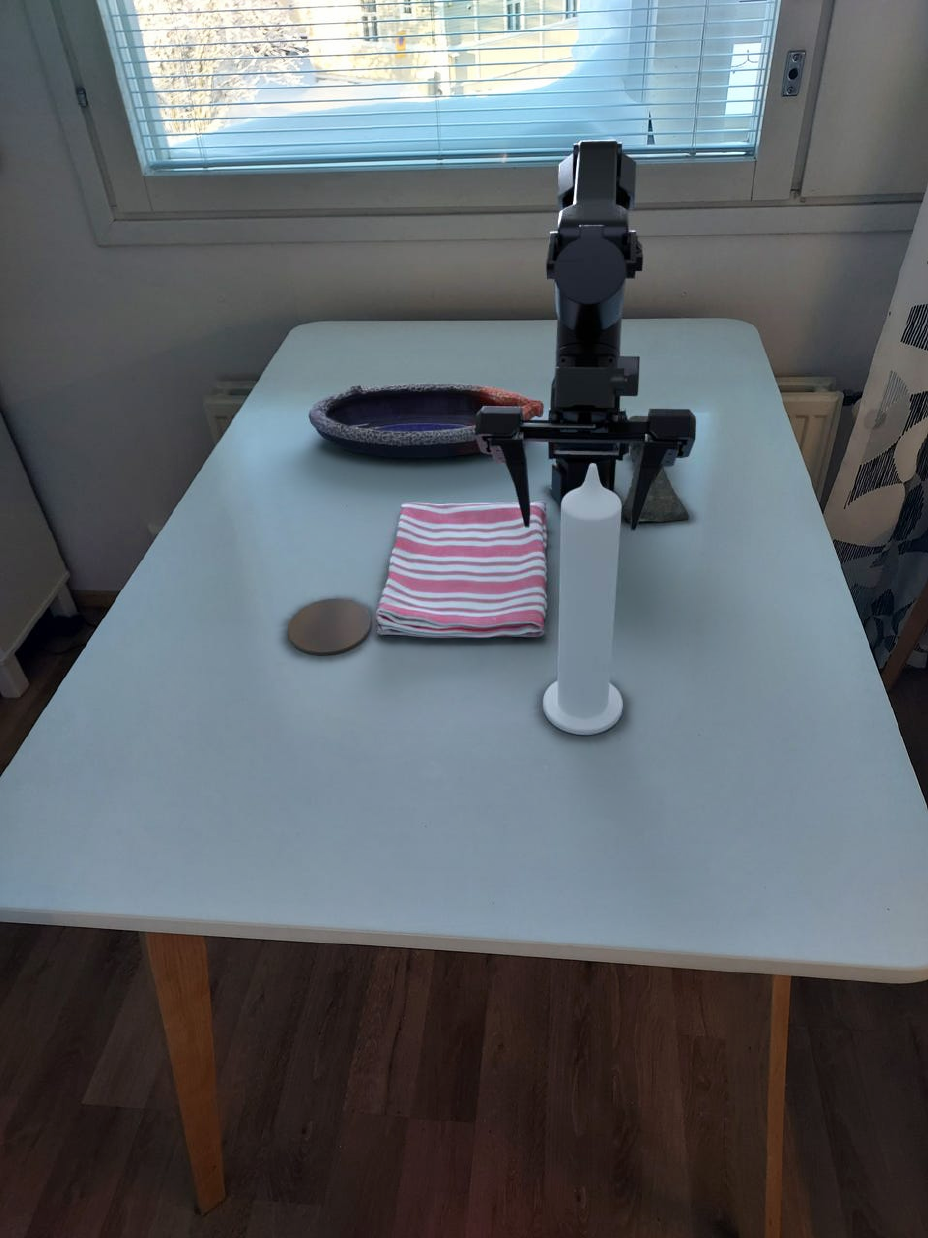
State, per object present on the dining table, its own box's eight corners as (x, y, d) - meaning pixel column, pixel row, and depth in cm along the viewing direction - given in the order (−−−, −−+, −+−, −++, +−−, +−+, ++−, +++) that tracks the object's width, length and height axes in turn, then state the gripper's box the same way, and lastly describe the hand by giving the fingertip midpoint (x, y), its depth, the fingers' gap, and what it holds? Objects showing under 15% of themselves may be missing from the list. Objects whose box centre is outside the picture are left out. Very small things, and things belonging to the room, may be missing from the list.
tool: (687, 531, 106) (693, 510, 103) (620, 529, 106) (624, 507, 103) (663, 426, 120) (668, 406, 118) (604, 424, 120) (607, 404, 118)
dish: (326, 409, 131) (321, 376, 127) (545, 410, 127) (545, 376, 124) (300, 466, 119) (293, 431, 116) (540, 469, 115) (540, 433, 112)
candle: (529, 694, 85) (527, 453, 69) (597, 670, 87) (610, 431, 71) (566, 746, 80) (573, 499, 64) (637, 720, 82) (661, 474, 66)
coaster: (358, 593, 98) (357, 590, 98) (382, 640, 92) (381, 637, 92) (280, 614, 96) (279, 611, 96) (299, 664, 90) (298, 661, 89)
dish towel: (373, 643, 91) (369, 616, 89) (403, 512, 109) (400, 487, 107) (546, 645, 90) (547, 618, 88) (548, 512, 108) (548, 486, 105)
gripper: (472, 316, 76) (461, 503, 74) (707, 316, 73) (700, 510, 72) (486, 367, 87) (477, 532, 85) (691, 369, 84) (685, 538, 83)
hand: (579, 528), depth 81 cm, fingers open, 9 cm apart
